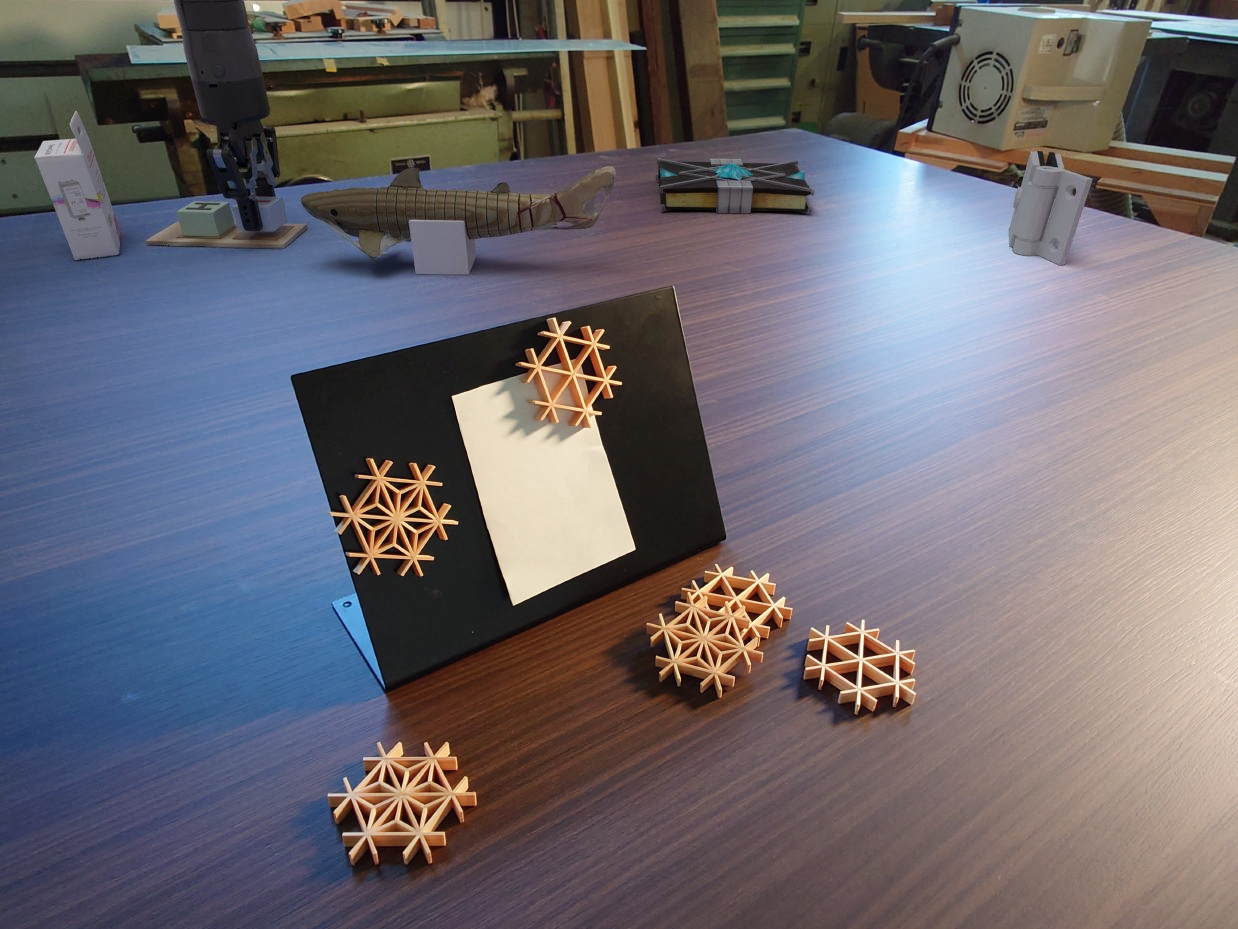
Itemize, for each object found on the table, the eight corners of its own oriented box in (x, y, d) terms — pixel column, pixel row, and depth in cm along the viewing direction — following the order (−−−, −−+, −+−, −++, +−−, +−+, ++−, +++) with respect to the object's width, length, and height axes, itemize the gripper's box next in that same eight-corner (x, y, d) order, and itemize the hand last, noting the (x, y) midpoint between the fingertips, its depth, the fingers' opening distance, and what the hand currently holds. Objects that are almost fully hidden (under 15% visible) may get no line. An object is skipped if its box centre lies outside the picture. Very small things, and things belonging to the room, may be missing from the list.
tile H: (183, 235, 100) (175, 210, 98) (200, 224, 103) (193, 200, 102) (219, 236, 99) (212, 211, 98) (235, 225, 103) (228, 200, 101)
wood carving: (615, 280, 91) (616, 178, 84) (302, 277, 90) (280, 174, 84) (615, 253, 98) (616, 157, 92) (325, 250, 98) (307, 154, 91)
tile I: (237, 230, 99) (231, 205, 97) (253, 219, 103) (247, 195, 101) (274, 231, 99) (268, 206, 97) (288, 220, 103) (282, 195, 101)
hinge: (1066, 266, 96) (1094, 179, 91) (1018, 263, 97) (1043, 177, 91) (1034, 229, 108) (1057, 150, 102) (992, 227, 108) (1013, 149, 103)
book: (794, 183, 126) (798, 150, 123) (813, 216, 112) (818, 178, 109) (655, 181, 126) (656, 147, 123) (656, 213, 112) (658, 176, 109)
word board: (146, 245, 99) (144, 239, 98) (179, 225, 105) (177, 219, 105) (284, 248, 98) (282, 243, 98) (307, 228, 105) (306, 223, 104)
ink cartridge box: (77, 239, 100) (30, 112, 92) (122, 234, 102) (80, 109, 94) (72, 261, 94) (21, 126, 85) (120, 255, 95) (75, 123, 87)
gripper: (222, 63, 97) (256, 206, 107) (161, 82, 85) (206, 241, 95) (283, 64, 97) (312, 207, 106) (231, 83, 85) (269, 243, 95)
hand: (262, 223), depth 101 cm, fingers closed on tile I, 4 cm apart
